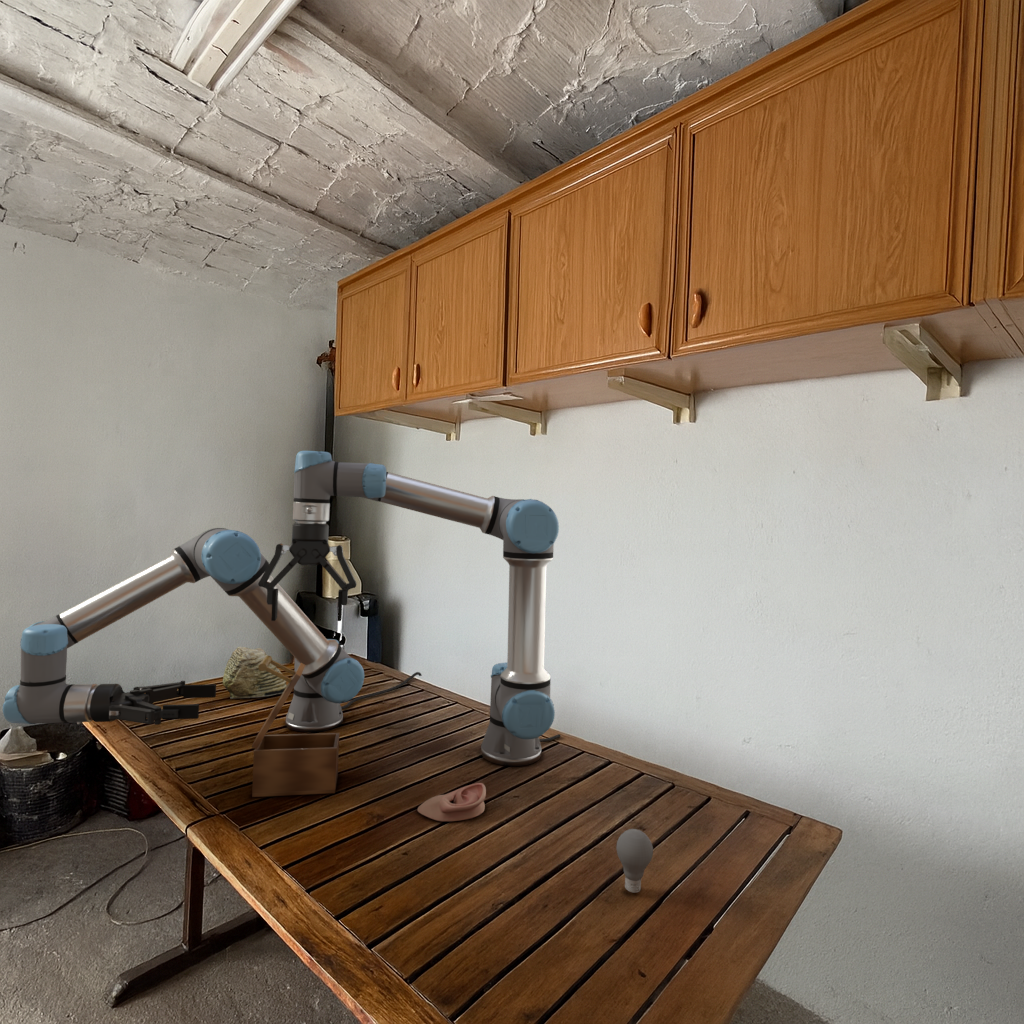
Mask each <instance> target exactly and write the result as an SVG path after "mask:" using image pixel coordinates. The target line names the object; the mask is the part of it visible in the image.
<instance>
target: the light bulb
mask: <svg viewBox="0 0 1024 1024" xmlns="http://www.w3.org/2000/svg"><path fill="white" fill-rule="evenodd" d="M615 849H616V854H617V857H618V859H619V861H620V863H621V865H622V867H623V873H624V874H623V875H624V876H625V878H624V888H625V890H627V891H628V892H630V893H634V894H635V893H639V892H640V891H641V889H642V887H641V886H642V879H643V877H644V875H645V871H646V868H647V867H648V866H649V864H650V863H651V861H652V859H653V855H654V847H653V843H652V841H651V838H649V836H648V835H647V834H646V833H645V832H643V831H642V830H641V829H636V828H629V829H627V830H625V831H623V832H622V833H621V834H620V835H619V837H618V839H617V841H616V847H615Z"/></svg>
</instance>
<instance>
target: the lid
mask: <svg viewBox="0 0 1024 1024" xmlns="http://www.w3.org/2000/svg"><path fill="white" fill-rule="evenodd" d="M270 663H271V664H273V665H275V666H276V668H278V669H279V670H281V671H285V672H286V673H288V674H290V675H292V676H291V678H290V677H288V676H287V675H284V674H283V673H282V672H281V673H282V674H281V673H279V672H277V671H275V670H273V669H271V668H269V667H268V666H269V664H270ZM258 668H259V670H260V671H265V670H266V671H267V672H269V673H271V674H273V675H275V676H277V677H279V678H281V679H283V680H285V681H286V683H287V684H286V685H287V687H286V688H285V690H284V692H283V693H281V694H280V696H279V697H278V699H277V701H276V703H275V705H274V707H273V708H272V710H271V711H270V713H269V714H268V716H267V718H266V720H265V722H264V723H263V724H262V726H261V728H260V729H259V731H258V733H257V735H256V737H255V739H254V741H253V743H252V745H251V748H253V749H254V750H255V749H257V748H258V746H259V744H260V743H261V741H262V739H263V738H264V736H265V735H267V733H268V731H269V729H270V728H271V726H272V724H273V723H274V721H275V720H276V719H277V716H278V715H279V713H280V711H281V709H282V708H283V706H284V705H285V703H286V701H287V700H288V699H289V697H290V695H291V693H292V692H293V691H294V687H295V685H296V683H297V682H298V680H299V678H300V677H301V674H302V672H303V670H304V668H305V665H304V664H302V663H301V664H300V665H299V667H298V668H297V670H296V672H295V671H294V670H293V669H291V668H289V667H287V666H285V665H283V664H282V663H280V662H278V661H276V660H273V657H272V656H271V655H268V656H266V657H265V658H264V659H263V661H262V662H261V663H260V665H259V667H258Z"/></svg>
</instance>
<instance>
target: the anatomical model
mask: <svg viewBox="0 0 1024 1024" xmlns="http://www.w3.org/2000/svg"><path fill="white" fill-rule="evenodd" d="M486 797H487V788H486V785H485V784H484V783H483V782H476V783H472V784H469V785H465V786H462V787H460V788H458V789H455V790H453V791H450V792H447V793H445V794H438V795H435V796H432V797H430V798H429V799H427V800H425V801H424V802H422V803H421V804H420V805H419V806H418V807H417V812H418V813H419V814H420V815H422V816H424V817H426V818H428V819H431V820H434V821H437V822H457V821H464V820H469V819H473V818H476V817H478V816H480V815H482V814H483V813H484V811H485V809H486V806H485V805H486V804H485V799H486Z"/></svg>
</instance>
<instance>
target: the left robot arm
mask: <svg viewBox="0 0 1024 1024" xmlns="http://www.w3.org/2000/svg"><path fill="white" fill-rule="evenodd" d="M269 564H270V562H269V560H267V558H265V557H264V556H263V554H262V552H261V550H260V547H259V545H258V544H257V542H256V541H255V540H254V539H253V538H252V537H251V536H250V535H248V534H246V533H244V532H242V531H240V530H235V529H228V528H225V527H215V528H214V527H213V528H210V529H208V530H205V531H202V532H201V533H199V534H198V535H196V536H194V537H192V538H190V539H189V540H187V541H185V542H184V543H182V544H181V545H179V546H177V547H175V548H173V549H172V550H171V553H170V555H169V556H167V557H165V558H163V559H161V560H159V561H157V562H155V563H153V564H151V565H149V566H148V567H146V568H144V569H142V570H140V571H138V572H136V573H134V574H132V575H131V576H129V577H126V578H124V579H123V580H121V581H119V582H117V583H116V584H113V585H112V586H109V587H108V588H106V589H104V590H102V591H100V592H98V593H97V594H94V595H92V596H90V597H89V598H86V599H85V600H83V601H81V602H78V603H76V604H75V605H73V606H70V607H69V608H68V609H66V610H64V611H62V612H59V613H58V614H56V615H54V616H52V617H50V618H49V619H46V620H42V621H38V622H37V621H36V622H35V623H33V624H30V625H29V626H28V627H26V628H24V629H23V630H22V633H21V637H20V681H19V684H17V685H14V686H11V688H9V690H8V691H7V692H6V694H5V697H4V702H3V703H2V715H3V717H4V719H5V720H6V721H7V722H9V723H11V724H24V725H25V724H27V725H36V724H38V725H39V724H60V723H62V724H63V723H66V724H68V723H76V724H77V725H82V724H83V723H91V722H94V723H108V722H109V723H112V722H115V721H117V720H121V721H127V722H132V723H133V722H134V723H140V724H144V725H155V726H158V725H161V724H162V720H164V721H165V720H197V719H199V714H200V704H199V703H190V704H163V705H162V706H159V705H156V704H154V703H158V702H161V701H162V702H163V701H167V700H171V699H176V698H181V697H182V698H183V699H203V698H204V699H205V698H207V699H208V698H212V699H213V698H216V696H217V684H216V683H213V684H212V683H211V684H208V683H207V684H186V681H185V680H180V681H177V682H169V683H162V684H155V685H147V686H134V687H133V689H132V690H129V691H126V692H125V691H124V690H123V687H122V685H121V684H119V683H100V684H98V683H73V684H72V683H71V684H70V683H69V684H68V683H67V662H68V661H67V659H68V649H69V648H71V647H73V646H74V645H76V644H79V642H81V641H83V640H85V639H87V638H88V637H90V636H92V635H94V634H95V633H97V632H99V631H102V630H104V629H105V628H107V627H108V626H110V625H112V624H114V623H116V622H118V621H120V620H121V619H123V618H125V617H127V616H129V615H131V614H132V613H134V612H136V611H137V610H140V609H141V608H143V607H145V606H147V605H149V604H150V603H153V602H154V601H155V600H158V599H159V598H161V597H164V596H166V595H167V594H169V593H171V592H172V591H174V590H176V589H178V588H180V587H182V586H183V585H185V584H187V583H190V584H195V583H197V582H199V581H201V580H204V579H205V578H208V577H211V578H212V580H214V582H215V583H216V584H217V585H218V586H219V587H220V589H222V591H224V593H226V595H227V596H229V597H239V599H240V600H241V601H242V602H243V603H244V604H245V605H246V606H247V607H248V608H249V609H250V610H251V612H252V613H253V614H254V615H255V616H256V617H257V618H258V619H259V620H260V622H262V624H263V625H264V626H265V627H266V628H267V629H268V630H269V631H270V632H271V634H272V635H273V636H274V637H275V638H276V639H277V640H278V641H279V642H280V643H281V644H282V646H284V648H285V649H286V650H287V651H288V652H289V653H290V654H291V655H292V656H293V657H294V670H293V671H295V672H296V670H297V668H298V667H299V665H300V664H301V663H302V664H304V665H305V668H304V670H303V672H302V674H301V677H300V678H299V680H298V682H297V683H296V685H295V687H294V688H293V695H292V696H293V697H292V699H291V702H290V704H289V708H288V711H287V713H286V715H285V726H286V728H287V729H289V730H291V731H294V732H295V731H296V732H301V733H316V732H317V733H318V732H325V731H329V730H332V729H335V728H337V727H339V726H340V725H342V723H343V722H344V714H343V710H345V709H347V708H349V707H350V706H351V705H352V704H354V703H356V702H359V701H362V700H365V699H369V698H373V697H376V696H380V695H383V694H386V693H389V692H392V691H395V690H397V689H399V688H401V687H403V686H404V685H407V683H408V682H410V680H412V679H413V678H415V677H416V676H419V677H422V676H423V675H422V673H421V672H419V671H416V672H414V673H413V674H411V675H410V676H409V677H406V679H405V680H403V681H402V682H401V683H399V684H397V685H395V686H392V687H389V688H386V689H383V690H380V691H376V692H372V693H369V694H365V695H361V696H358V697H356V696H357V695H358V694H359V693H360V691H361V689H362V688H363V686H364V681H365V670H364V667H363V666H362V664H361V663H360V662H359V661H358V660H357V659H356V658H353V657H351V656H350V655H349V654H348V652H347V651H346V650H345V649H344V648H343V647H342V646H341V644H340V642H339V640H337V639H334V638H326V636H324V634H323V633H322V632H321V631H320V630H319V628H318V627H317V625H315V624H314V622H312V620H310V618H309V617H308V616H307V615H306V614H305V613H304V611H303V610H302V609H301V608H300V606H298V604H297V603H296V602H295V601H294V600H293V599H292V597H290V595H289V594H288V593H287V592H286V591H285V589H283V587H282V586H281V585H280V584H279V583H278V584H277V585H276V586H275V587H274V589H278V608H277V619H276V620H275V621H271V618H272V605H268V604H267V589H266V588H264V587H260V586H259V585H258V583H259V581H260V579H261V578H262V576H263V574H264V572H265V571H266V569H267V567H268V565H269ZM274 578H275V577H273V576H272V575H271V576H270V577H269V579H268V582H271V581H272V580H273V579H274ZM344 703H346V704H344ZM341 704H344V705H341Z"/></svg>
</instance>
